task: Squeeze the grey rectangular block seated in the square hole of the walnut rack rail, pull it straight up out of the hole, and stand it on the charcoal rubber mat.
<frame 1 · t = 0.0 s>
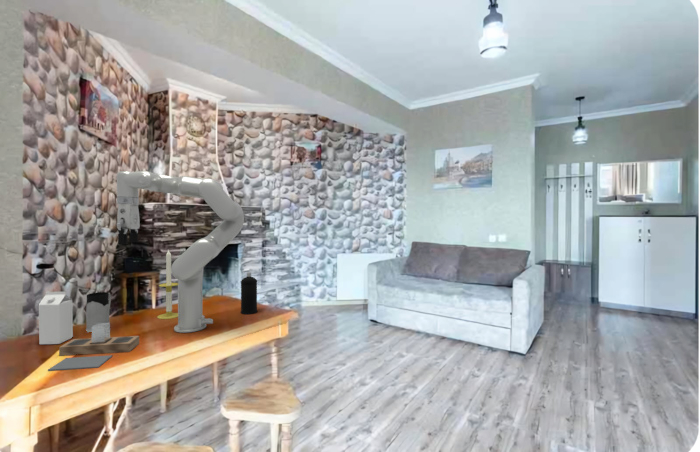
hand: (128, 243, 144), 37 cm above the table, tool pointing down, fingers open, 9 cm apart
glass holder: (101, 327, 150), on the table
rack rail: (101, 349, 125), on the table
milk carton: (56, 341, 133), on the table
aerosol can: (249, 312, 175), on the table
grey rectangular block: (101, 337, 125), in the rack rail
mat: (81, 363, 113), on the table
candle: (169, 316, 167), on the table
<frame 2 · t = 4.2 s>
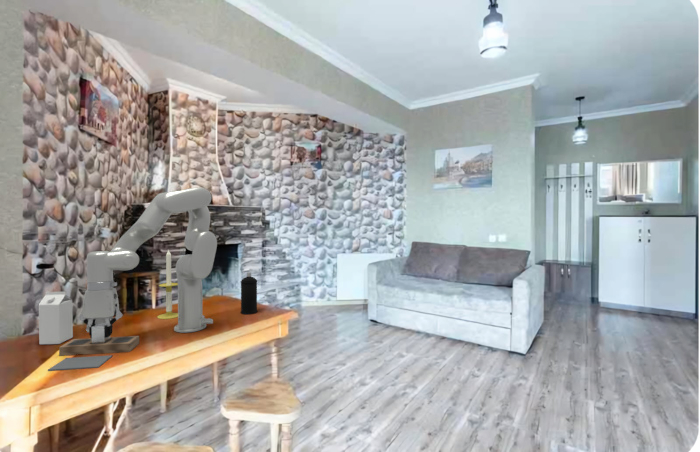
hand: (101, 336, 125), 5 cm above the table, tool pointing down, fingers closed on grey rectangular block, 4 cm apart
grey rectangular block: (101, 337, 125), in the rack rail, touching gripper
everything else where it was.
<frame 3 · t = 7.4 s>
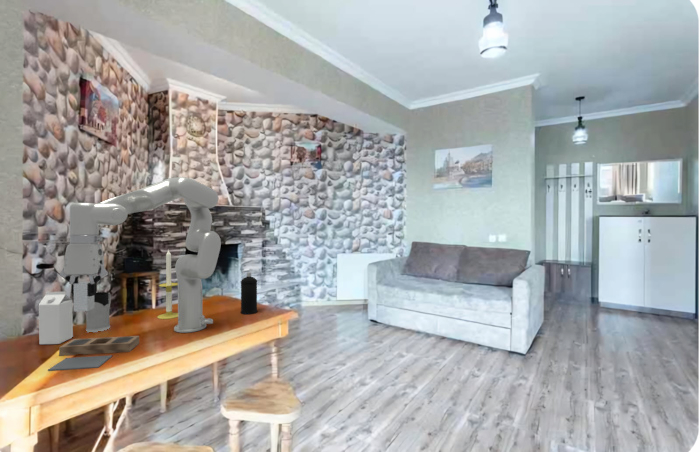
hand: (84, 295, 115), 22 cm above the table, tool pointing down, fingers closed on grey rectangular block, 4 cm apart
grey rectangular block: (84, 296, 115), point 22 cm above the table, touching gripper
everything else where it was.
when the fingers open (7 cm above the table, at t = 10.7 s): grey rectangular block drops 1 cm, resting on mat.
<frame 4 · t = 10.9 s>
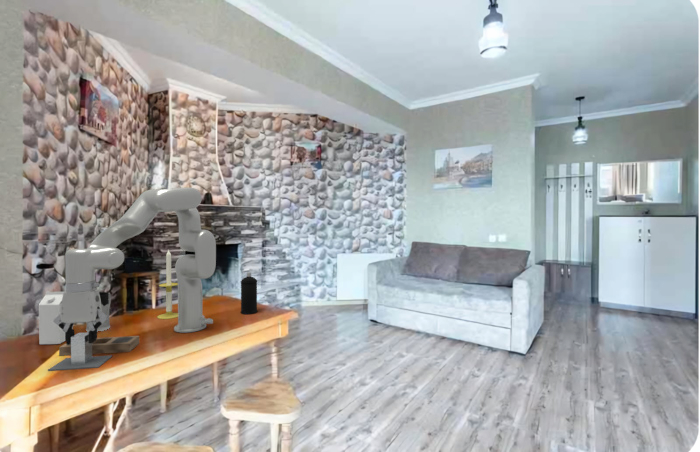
hand: (81, 341, 113), 7 cm above the table, tool pointing down, fingers open, 5 cm apart
grey rectangular block: (81, 348, 113), on the mat
everything else where it was.
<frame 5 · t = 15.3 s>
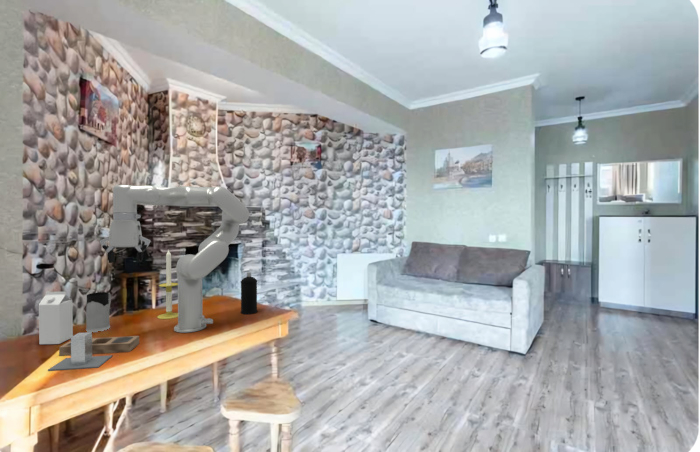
hand: (125, 262, 133), 30 cm above the table, tool pointing down, fingers open, 9 cm apart
nothing on the table moved.
at the end: grey rectangular block 0.1 cm off-centre on the mat, point 4.9 cm above the mat's base; grey rectangular block tilted 0°; the gripper is holding nothing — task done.
